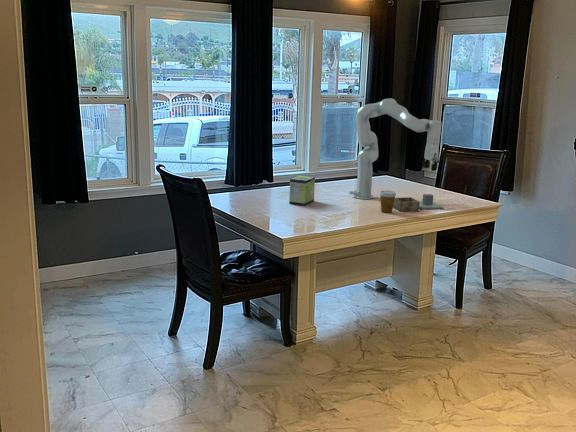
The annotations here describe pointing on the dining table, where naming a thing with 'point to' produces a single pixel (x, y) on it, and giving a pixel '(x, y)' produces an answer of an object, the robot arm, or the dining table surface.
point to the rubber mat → (430, 208)
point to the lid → (428, 202)
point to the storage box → (406, 204)
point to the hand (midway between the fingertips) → (430, 169)
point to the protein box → (302, 190)
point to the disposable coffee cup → (387, 201)
